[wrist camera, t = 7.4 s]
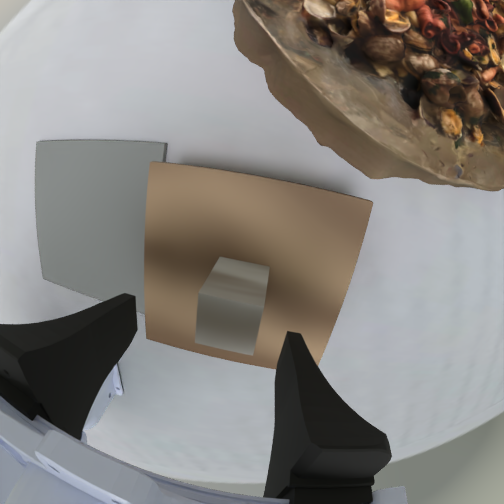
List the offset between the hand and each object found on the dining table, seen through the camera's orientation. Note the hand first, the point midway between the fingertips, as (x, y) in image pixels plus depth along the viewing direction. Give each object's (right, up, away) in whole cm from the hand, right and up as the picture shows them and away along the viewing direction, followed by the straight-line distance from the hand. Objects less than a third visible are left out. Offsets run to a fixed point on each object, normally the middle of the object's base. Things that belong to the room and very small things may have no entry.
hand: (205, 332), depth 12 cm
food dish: (+17, +24, 0) cm, 30 cm away
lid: (+1, +2, +5) cm, 6 cm away
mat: (-13, +6, +10) cm, 17 cm away
